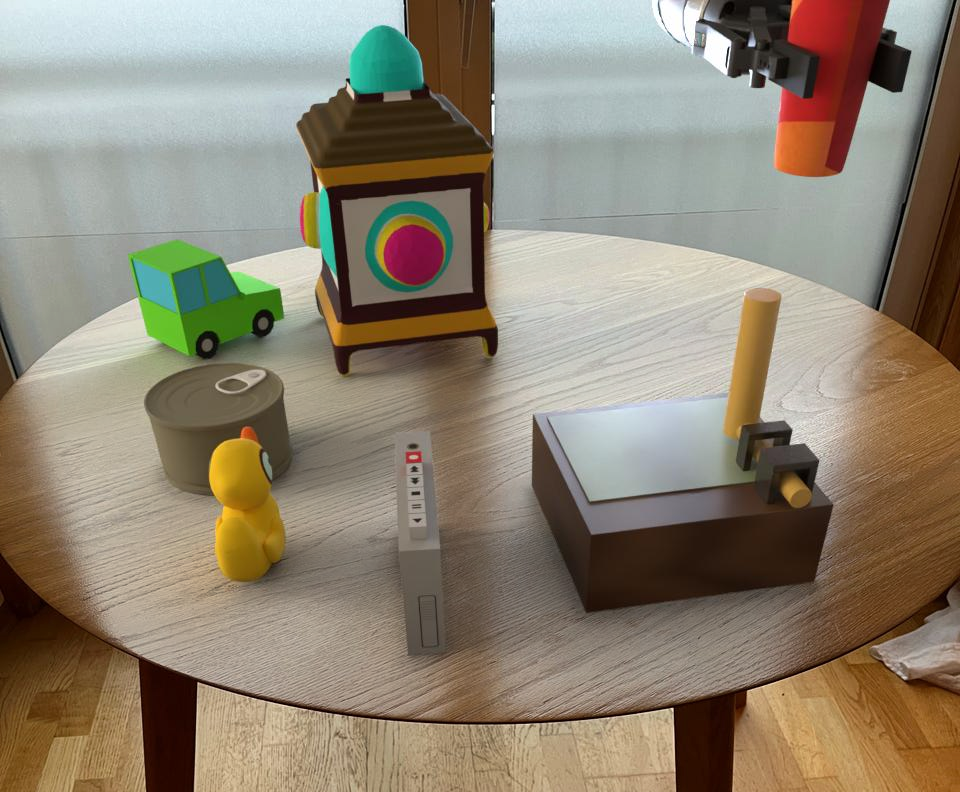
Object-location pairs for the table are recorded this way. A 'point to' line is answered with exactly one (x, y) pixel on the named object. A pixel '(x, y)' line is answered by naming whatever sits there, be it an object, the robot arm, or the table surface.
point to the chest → (674, 502)
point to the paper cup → (828, 83)
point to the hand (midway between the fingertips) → (856, 74)
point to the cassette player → (419, 544)
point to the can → (216, 418)
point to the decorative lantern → (396, 207)
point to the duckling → (245, 509)
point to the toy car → (200, 298)
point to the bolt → (757, 380)
